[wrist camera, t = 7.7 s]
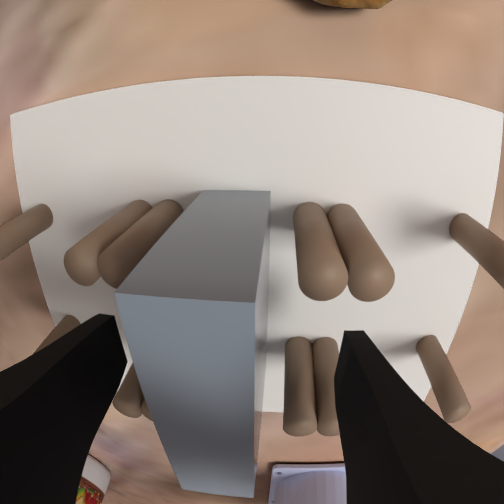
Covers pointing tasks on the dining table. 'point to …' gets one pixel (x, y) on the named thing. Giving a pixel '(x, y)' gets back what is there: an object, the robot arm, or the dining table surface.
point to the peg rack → (274, 216)
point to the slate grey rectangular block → (205, 337)
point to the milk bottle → (93, 482)
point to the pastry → (355, 3)
